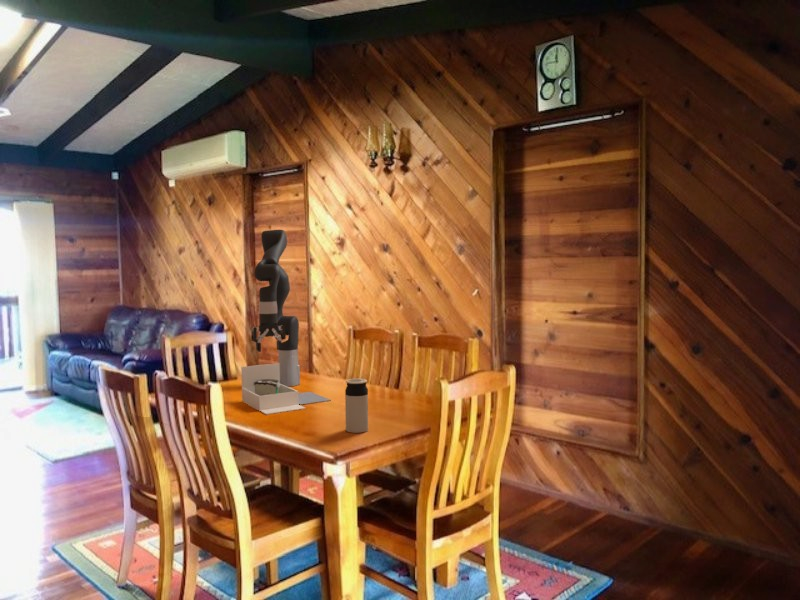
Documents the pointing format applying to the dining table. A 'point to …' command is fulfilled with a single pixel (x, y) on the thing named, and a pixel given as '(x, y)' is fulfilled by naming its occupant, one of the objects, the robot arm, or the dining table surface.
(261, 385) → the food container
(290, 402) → the carton
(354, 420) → the travel mug
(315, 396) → the slate mat
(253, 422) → the dining table surface
